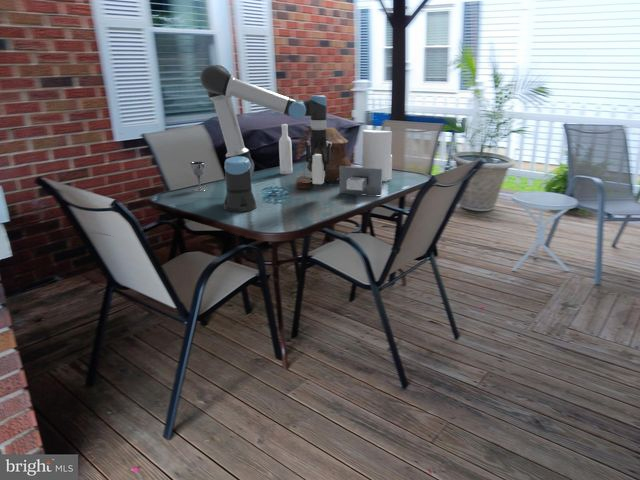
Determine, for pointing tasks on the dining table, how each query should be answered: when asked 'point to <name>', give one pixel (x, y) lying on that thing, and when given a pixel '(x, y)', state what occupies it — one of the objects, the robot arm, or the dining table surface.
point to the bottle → (285, 151)
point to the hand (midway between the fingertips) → (318, 176)
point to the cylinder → (378, 151)
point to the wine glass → (198, 172)
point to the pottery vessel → (334, 154)
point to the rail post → (317, 169)
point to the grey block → (360, 180)
